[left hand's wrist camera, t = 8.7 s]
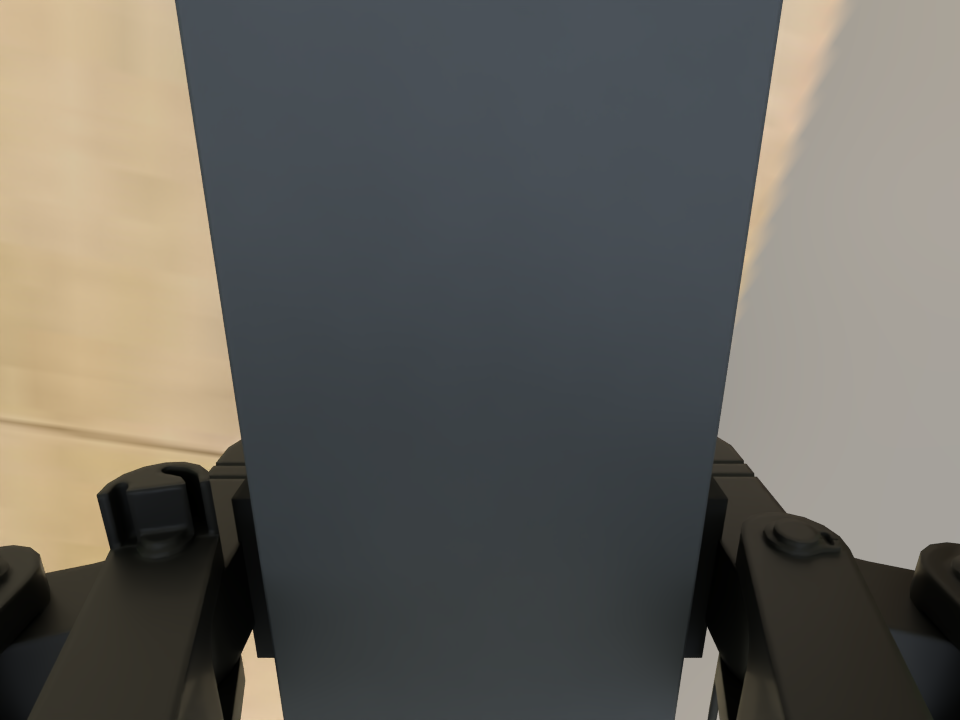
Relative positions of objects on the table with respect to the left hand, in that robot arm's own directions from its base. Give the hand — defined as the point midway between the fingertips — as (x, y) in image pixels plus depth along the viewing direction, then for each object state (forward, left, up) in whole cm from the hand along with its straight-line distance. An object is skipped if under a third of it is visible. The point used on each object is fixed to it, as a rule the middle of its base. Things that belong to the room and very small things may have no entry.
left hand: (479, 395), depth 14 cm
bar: (+20, +22, -1) cm, 30 cm away
